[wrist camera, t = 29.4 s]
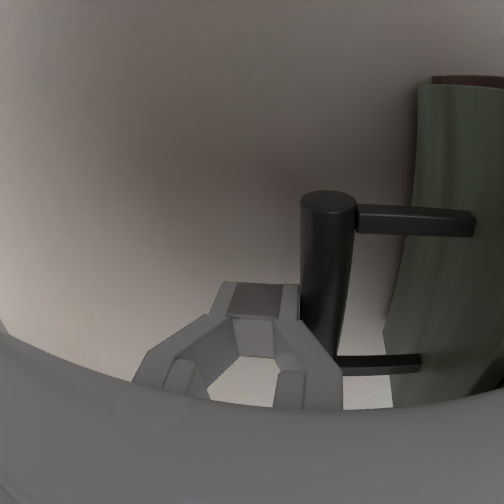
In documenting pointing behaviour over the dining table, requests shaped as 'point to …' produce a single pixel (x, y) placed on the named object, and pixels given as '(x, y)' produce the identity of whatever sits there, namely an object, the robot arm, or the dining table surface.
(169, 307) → the dining table surface
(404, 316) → the drawer
